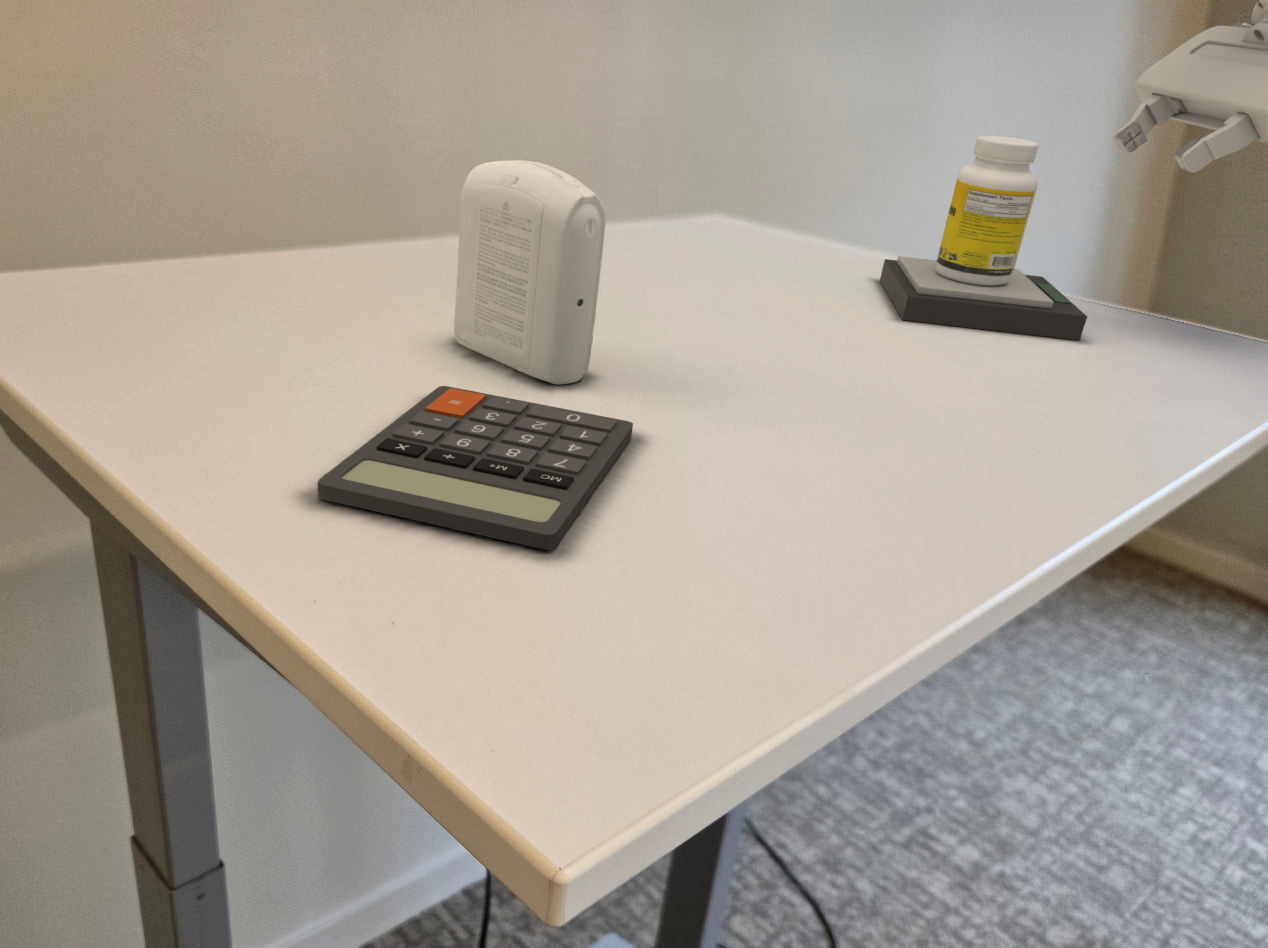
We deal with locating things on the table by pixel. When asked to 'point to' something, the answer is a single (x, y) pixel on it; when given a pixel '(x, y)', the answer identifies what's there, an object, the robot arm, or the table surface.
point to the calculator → (482, 466)
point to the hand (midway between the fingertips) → (1149, 154)
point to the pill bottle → (989, 212)
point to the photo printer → (529, 268)
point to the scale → (980, 301)
